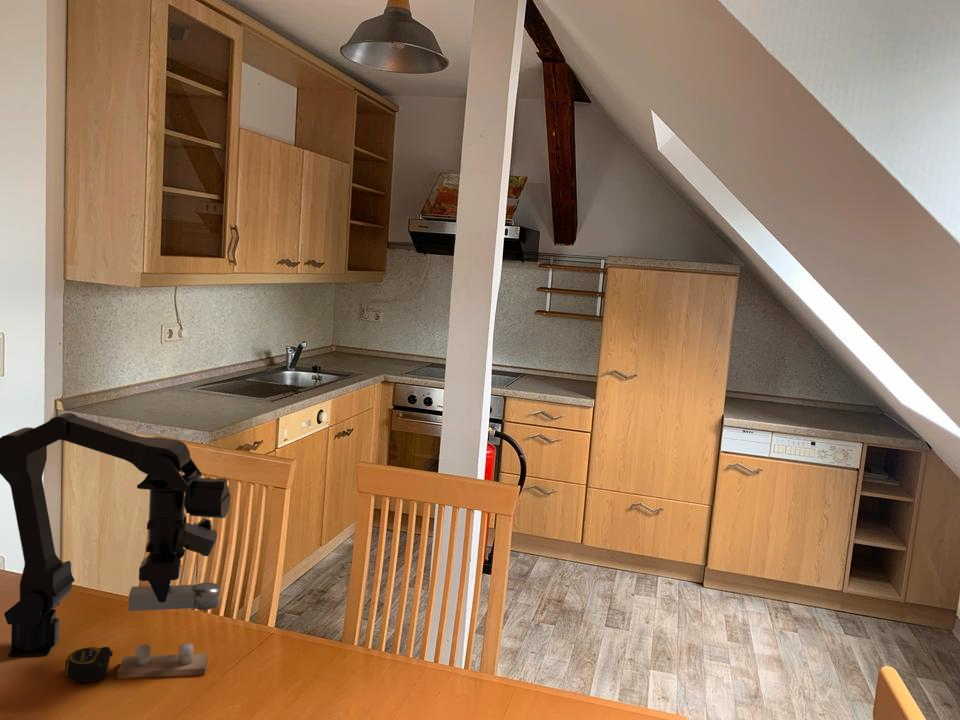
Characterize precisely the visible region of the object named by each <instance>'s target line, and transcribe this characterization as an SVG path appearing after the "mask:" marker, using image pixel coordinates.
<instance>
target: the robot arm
mask: <svg viewBox="0 0 960 720" xmlns="http://www.w3.org/2000/svg"><path fill="white" fill-rule="evenodd" d="M59 440H61V441H66V442H68V443H71V444H74V445H77V446H80V447H83V448H87V449H89V450H93V451H95V452H99V453H102V454H106V455H108V456H112V457H115V458H118V459H119V460H120V459H121V460H123V461H126V462H128V463H130V464H132V465H133V466H134V467H135V468H136V469H137V470H138V471H140V473H142V474H145V475H146V476H145V478H144V479H143V480H142V481H140V483H138V484H137V485H136V488H137V489H138V490H149V503H148V505H149V506H148V521H147V524H146V530H147V531H148V534H147V535H148V536H147V537H148V538H147V544H146V548H145V552H146V553H148V555H147V556H146V557H145V558H144V559H143V560H142V561H141V563H140V565H139V568H138V580H139V581H141V582H148V584H149V586H151V587H152V589H153V591H154V593H155V595H156V597H157V599H158V601H159V602H166V598H167V594H168V590H169V586H170V585H171V582H172V581H176V580H179V578H180V574H181V570H182V566H183V565H182V558H183V557H184V556H185V553H186V550H188V551H191V552H194V553H196V554H197V553H198V554H200V555H201V556H202V557H203V556H204V557H209V556H210V555H211V552H212V550H213V548H214V547H215V544H216V542H217V538H218V532H216V529H213V527H212V520H210V519H206V518H214V519H215V518H216V519H225V518H226V517H227V515H228V513H229V510H230V505H231V495H232V494H231V492H230V487H229V486H228V479H227V478H221V477H220V478H206V477H202V476H203V473H202V472H201V470H200V469H199V468H198V466H197V465H196V464H195V462H194V460H193V459H192V458H191V453H190V449H189V448H188V446H187V444H186V443H185V442H183V441H181V440H178V439H172V438H165V437H146V436H145V437H144V436H139V435H136V434H132V433H129V432H127V431H123V430H122V429H121V430H120V429H118V428H114V427H112V426H109V425H105V424H101V423H99V422H96V421H93V420H90V419H87V418H83V417H81V416H78V415H77V414H75V413H72V412H64V413H61V414H59V415H56V416H54V417H52V418H50V419H49V420H48V421H47V422H44V423H42V424H39V425H38V426H36V427H22V428H19V429H17V430H15V431H13V432H10V433H8V434H5V435H2V436H1V437H0V476H2V478H3V479H4V480H5V481H6V482H7V483H8V485H9V486H10V491H11V496H12V501H13V507H14V512H15V513H14V514H15V519H16V523H17V530H18V534H19V535H18V536H19V539H20V544H21V551H22V557H23V562H24V565H23V570H22V573H21V578H20V581H19V601H17V602H16V603H15V604H14V605H12V606H11V607H10V608H9V609H8V610H6V611H4V618H5V621H6V623H7V625H11V634H10V635H11V636H10V637H11V640H10V643H11V644H10V645H11V646H10V648H9V650H8V652H7V656H8V657H22V656H23V657H24V656H25V657H26V656H47V655H49V654H50V653H51V651H52V649H53V647H55V646H56V644H57V642H58V641H59V637H60V636H59V635H60V634H59V632H60V629H59V628H60V619H59V617H57V615H56V614H57V610H56V607H58V606H59V605H60V604H61V602H62V601H63V600H64V598H66V597H67V596H68V595H69V593H70V592H71V590H72V586H73V583H74V582H75V578H74V576H73V574H72V563H71V561H70V560H66V561H62V560H61V559H60V558H59V556H57V554H56V551H55V545H54V539H53V533H52V526H51V522H50V517H49V509H48V506H47V500H46V494H45V489H44V488H45V487H44V483H43V474H44V471H45V467H46V464H47V460H48V454H47V453H48V446H49V445H52V444H54V443H56V442H58V441H59ZM180 472H182V473H183V474H181V473H180ZM185 513H186V514H189V515H190V516H191V517H198V518H199V517H200V518H202V519H201V520H200V521H198V522H197V523H195V522H194V523H193V524H192V523H189V522H188V521H187V519H188V518H187V515H186V514H185Z"/></svg>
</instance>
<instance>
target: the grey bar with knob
mask: <svg viewBox="0 0 960 720" xmlns="http://www.w3.org/2000/svg"><path fill="white" fill-rule="evenodd" d="M220 589H221V586H220V585H219V584H218V583H215V582H208V581H207V582H200V583H196V584H177V585H173V584H172V585H171V584H170V586H169V590H168V594H167V598H166V602H159V601H158V599H157V597H156V595H155V593H154V591H153V589H152V587H151V585H143V586H140V585H139V586H131V589H130V590H129V593H128V612H135V611H136V612H137V611H157V610H158V611H160V610H162V611H163V610H165V611H166V610H182V609H183V610H185V609H186V610H189V609H195V610H197V611H198V610H199V611H207V610H211V609H212V610H213V609H215V608H217V607H218V606H219V604H220Z"/></svg>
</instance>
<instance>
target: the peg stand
mask: <svg viewBox="0 0 960 720" xmlns="http://www.w3.org/2000/svg"><path fill="white" fill-rule="evenodd" d="M151 651H152V647H151V645H149V644H140V645H138V646H136V647H135V652H134V653H135V654H134V655H129V656H128V655H126V656H125V655H124V656H123V657H122V659H121V662H120V665H119V668H118V670H117V679H127V678H126V677H132V678H131V679H133V677H137V679H139V678H138V677H140V678H160V677H183V676H184V677H186V676H205V674H206V669H207V665H208V658H209V657H208V655H209V654H208V653H194V644H193V643H189V642H187V643H186V642H185V643H181V644H180V645H178V654H159V655H158V654H154V655H153V654H152V655H151ZM124 677H125V678H124Z"/></svg>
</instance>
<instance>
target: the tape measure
mask: <svg viewBox="0 0 960 720" xmlns="http://www.w3.org/2000/svg"><path fill="white" fill-rule="evenodd" d="M113 652H114V650H111V648H110V647H109V646H102V647H97V646H96V647H95V646H93V647H92V646H91V647H90V646H89V647H83V648H79V649H76V650H74V651H72V652H71V653H70V654H69V655H68V656H67V658H66V660H65V665H64V673H65V675H66V677H67V679H68V680H70V681H71V682H75V683H87V682H88V683H89V682H94V681H99V680H102V679H105V678H107V675H108V671H109V670H108V669H109V663H110V660H111V657H113V654H114V653H113Z"/></svg>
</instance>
